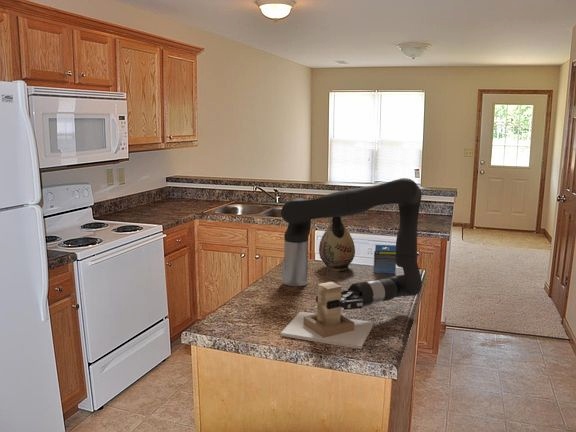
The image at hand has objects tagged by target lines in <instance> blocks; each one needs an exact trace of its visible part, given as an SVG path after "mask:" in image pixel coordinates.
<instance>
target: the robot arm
mask: <svg viewBox="0 0 576 432" xmlns="http://www.w3.org/2000/svg"><path fill="white" fill-rule="evenodd" d="M422 195H423V194H422V190H421V187H420V186H419V185H418V184H417V182H415V181H414V180H413V179H411V178H408V177H406V178H405V177H403V178H398V179H394V180H391V181H387V182H384V183H379V184H376V185H369V186H368V185H367V186H363V187H356V188H350V189H343V190H339V191H335V192H331V193H329V194H325V195H322V196H319V197H316V198H312V199H305V198H303V197H297V198H292V199H290V200H288V201H286V202H285V203H284V204H283V205H282V207H281V210H280V216H281V218H282V219H283V221H284V222H286V223H287V225H288V226H287V228H286V230H285V231H284V236H283V237H284V238H283V239H284V243H283V244H284V245H283V247H284V248H283V249H284V250H283V256H284V258H283V259H282V260H281V284H282V285H283V284H284V285H286V286H287V287H288V286H289V287H302V286H303V287H304V286H306V285H307V284H308V280H309V279H308V275H309V274H308V270H309V269H308V268H309V266H308V265H309V264H308V263H309V235H310V232H311V227H312V226H311V223H312V220H315V219H325V218H328V219H329V218H333V217H340V216H341V217H347V216H353V215H358V214H361V213H365V212H367V211H368V210H371V209H373V208H375V207H378V206H383V205H393V204H396V205H398V211H399V224H398V225H399V226H398V229H397V230H398V231H397V235H396V242H395V245H396V267H398V268H402V270H403V274H400V275H394V276H391V277H388V278H381V279H376V280H375V279H373V280H366V281H365V280H364V281H361V282H355V283H352V284H350V286H349V287H348V288H347V289H345V288H344V289H343V288H342V289H341V299H338V300H333V301H328V302H327V303H326V308H327V309H332V308H337V307H338V308H341V309H343V310H345V311H347V310H357V309H362V308H363V307H369V306H372V305H377V304H379V303H382V302H386V301H390V300H391V301H392V300H393V299H395V298H400V297H415V296H417V295H418V294H420V292H421V290H422V287H423V281H422V275H421V271H420V267H419V263H418V221H419V213H420V208H421V202H422ZM315 303H316V304H318V295H316V296H315Z"/></svg>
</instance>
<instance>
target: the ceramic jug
mask: <svg viewBox="0 0 576 432" xmlns="http://www.w3.org/2000/svg"><path fill="white" fill-rule="evenodd" d="M318 254H319V258H320V259H321V261H322V262H323V263H324V265H325V266H326V269H327V270H330V271H334V272H340V271H346V270H348V269H349V266H350V264H352V262H353V260H354V258H355V255H356V248H355V242H354V240H353V237H352V235H351V233H350V232H349V230H348V229H347V228H346V225H345V224H344V223H343V222H342V216H340V217H332V220H331V221H330V224H329V225H328V226H327V228H326V230H325V231H324V233H323V234H322V237H321V238H320V242H319V246H318Z"/></svg>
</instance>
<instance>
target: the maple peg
mask: <svg viewBox="0 0 576 432" xmlns="http://www.w3.org/2000/svg"><path fill="white" fill-rule="evenodd" d="M341 290H342V285H340V284H337V283H336V282H334V281H327V282H323V283H318V284H317V296H318V303H317V307H316V308H317V309H316V310H317V312H316V314H317V322H318V323H320V324H322V325H323V326H325V327H326V326H331V325H335V324H339V323H340V315H342V314H341V311H342V308H338V307H337V308H332V309H327V308H326V303H327V302H328V301H333V300H338V299H341Z"/></svg>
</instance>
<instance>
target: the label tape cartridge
mask: <svg viewBox="0 0 576 432" xmlns="http://www.w3.org/2000/svg"><path fill="white" fill-rule="evenodd" d="M396 269H397V265H396V244H391V245H390V244H388V245H387V244H375V249H374V252H373V269H372V270H373V273H374V274H391V275H392V274H393V275H395V274H396Z"/></svg>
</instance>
